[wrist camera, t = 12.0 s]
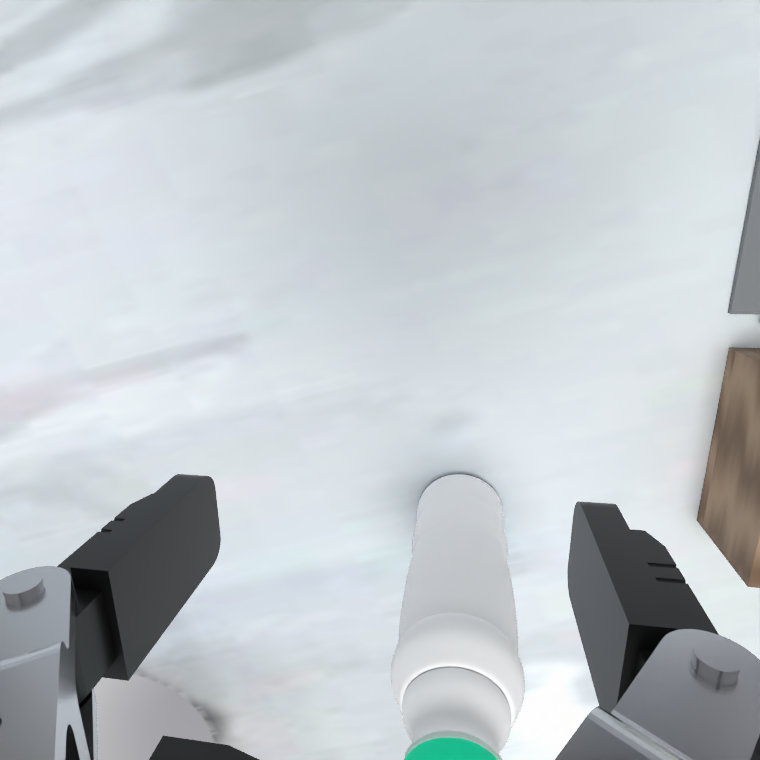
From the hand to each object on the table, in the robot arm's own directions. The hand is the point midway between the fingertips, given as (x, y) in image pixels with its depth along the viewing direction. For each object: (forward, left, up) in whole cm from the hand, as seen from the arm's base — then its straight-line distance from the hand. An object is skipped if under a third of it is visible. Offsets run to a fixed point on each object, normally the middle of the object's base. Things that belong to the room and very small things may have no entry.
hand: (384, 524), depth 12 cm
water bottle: (+17, +2, -30) cm, 35 cm away
